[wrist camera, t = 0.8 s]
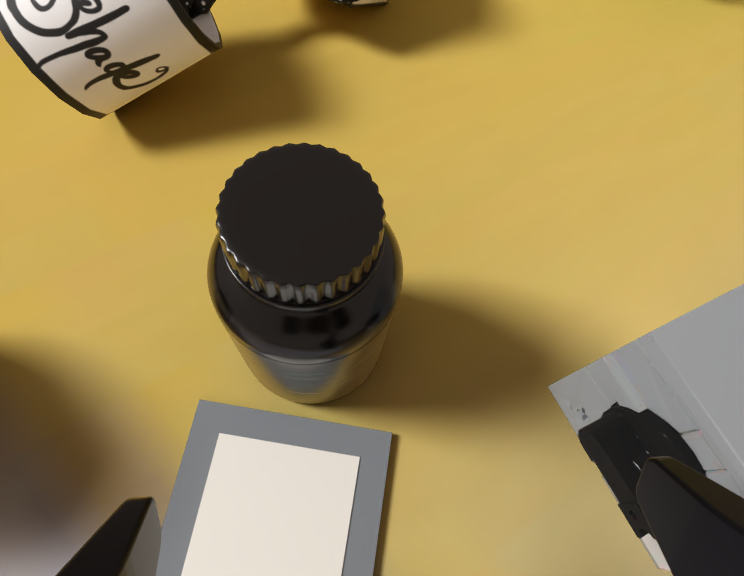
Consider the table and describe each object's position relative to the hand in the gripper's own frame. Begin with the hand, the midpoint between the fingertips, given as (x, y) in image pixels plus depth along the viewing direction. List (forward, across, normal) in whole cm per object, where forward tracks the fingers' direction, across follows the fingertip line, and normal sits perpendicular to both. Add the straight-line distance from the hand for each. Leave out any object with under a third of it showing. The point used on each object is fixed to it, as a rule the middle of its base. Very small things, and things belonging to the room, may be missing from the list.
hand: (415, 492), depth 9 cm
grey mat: (+9, +3, +12) cm, 15 cm away
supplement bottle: (+16, +1, +6) cm, 17 cm away
